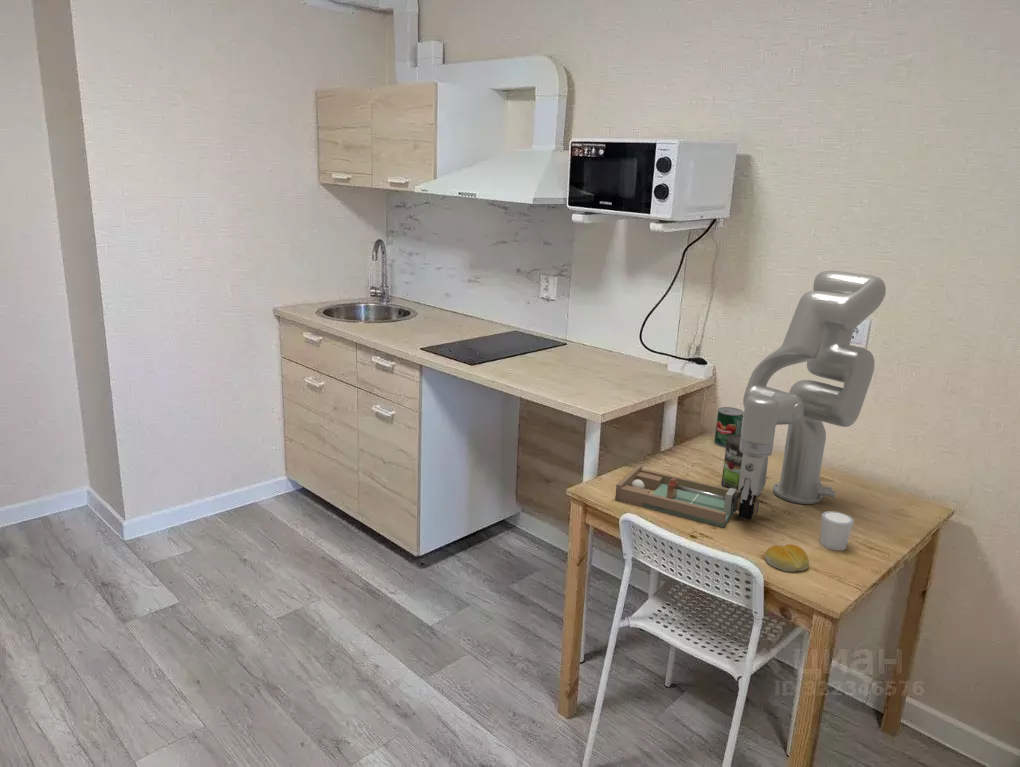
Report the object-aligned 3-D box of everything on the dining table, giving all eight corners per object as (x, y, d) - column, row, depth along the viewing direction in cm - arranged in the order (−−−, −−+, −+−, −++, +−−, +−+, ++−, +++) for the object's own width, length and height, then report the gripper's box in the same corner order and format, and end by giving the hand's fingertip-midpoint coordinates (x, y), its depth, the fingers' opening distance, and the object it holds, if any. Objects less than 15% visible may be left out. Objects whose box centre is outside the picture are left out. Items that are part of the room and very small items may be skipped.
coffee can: (742, 500, 195) (748, 449, 191) (712, 485, 203) (718, 437, 199) (768, 492, 200) (775, 443, 196) (738, 478, 209) (744, 431, 205)
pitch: (738, 504, 192) (741, 481, 191) (723, 527, 179) (726, 504, 177) (636, 479, 205) (638, 458, 204) (615, 500, 192) (617, 477, 190)
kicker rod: (758, 512, 184) (761, 495, 183) (754, 519, 180) (757, 502, 179) (671, 491, 195) (673, 475, 194) (665, 497, 191) (667, 481, 190)
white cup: (812, 537, 176) (816, 510, 174) (839, 537, 176) (844, 510, 174) (825, 551, 169) (830, 524, 167) (854, 551, 170) (859, 524, 168)
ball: (634, 489, 200) (646, 490, 198) (629, 494, 197) (642, 495, 195) (633, 477, 199) (645, 478, 197) (628, 481, 196) (641, 482, 194)
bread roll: (758, 555, 167) (760, 539, 166) (795, 554, 168) (798, 538, 167) (775, 574, 159) (778, 558, 158) (814, 572, 160) (817, 556, 159)
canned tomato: (739, 441, 239) (743, 408, 235) (740, 449, 231) (744, 416, 228) (714, 438, 241) (718, 405, 237) (713, 446, 233) (717, 413, 230)
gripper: (765, 459, 170) (754, 532, 175) (778, 439, 184) (768, 507, 189) (732, 452, 173) (723, 524, 179) (747, 433, 187) (739, 500, 192)
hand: (746, 514), depth 184 cm, fingers closed on kicker rod, 3 cm apart
